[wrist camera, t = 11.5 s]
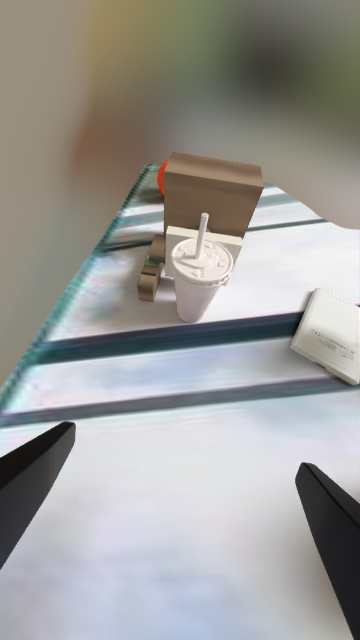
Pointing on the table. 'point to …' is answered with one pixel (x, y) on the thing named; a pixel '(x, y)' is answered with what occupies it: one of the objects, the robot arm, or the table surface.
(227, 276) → the smoothie
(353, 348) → the external hard drive
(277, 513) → the table surface
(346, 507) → the robot arm
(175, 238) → the cream flat box
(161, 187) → the clementine
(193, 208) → the brown blocky piece
